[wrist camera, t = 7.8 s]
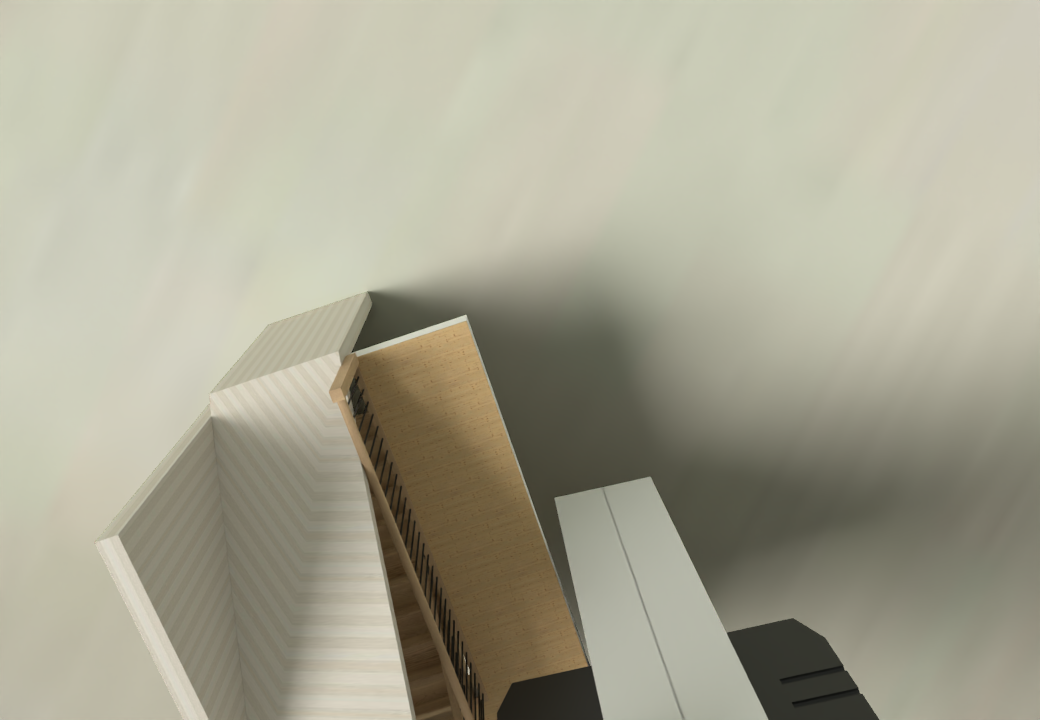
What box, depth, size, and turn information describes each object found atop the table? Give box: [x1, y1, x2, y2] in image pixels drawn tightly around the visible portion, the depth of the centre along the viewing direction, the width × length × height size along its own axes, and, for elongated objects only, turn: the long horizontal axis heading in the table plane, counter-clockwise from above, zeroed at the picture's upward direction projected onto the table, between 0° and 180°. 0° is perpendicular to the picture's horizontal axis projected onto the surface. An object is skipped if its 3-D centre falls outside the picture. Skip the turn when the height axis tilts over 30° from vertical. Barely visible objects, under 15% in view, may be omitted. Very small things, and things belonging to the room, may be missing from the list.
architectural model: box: [95, 291, 590, 720], centre depth 13 cm, size 3×7×8 cm, turn 18°
